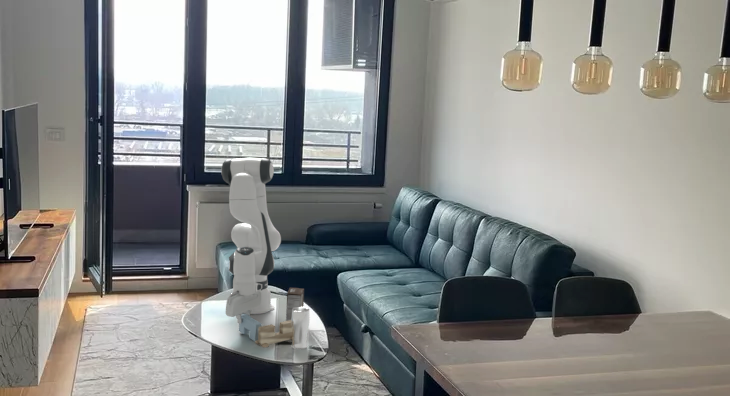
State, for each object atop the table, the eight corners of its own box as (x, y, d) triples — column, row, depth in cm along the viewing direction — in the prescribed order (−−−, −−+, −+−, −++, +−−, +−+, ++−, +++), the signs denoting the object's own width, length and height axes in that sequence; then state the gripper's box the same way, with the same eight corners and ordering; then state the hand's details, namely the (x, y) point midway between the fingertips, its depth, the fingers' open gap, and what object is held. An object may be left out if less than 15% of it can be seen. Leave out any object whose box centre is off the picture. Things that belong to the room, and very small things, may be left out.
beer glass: (305, 351, 263) (307, 312, 262) (287, 348, 265) (289, 310, 263) (310, 345, 270) (312, 307, 268) (293, 343, 272) (294, 306, 270)
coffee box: (288, 324, 295) (289, 287, 292) (303, 325, 294) (304, 288, 292) (285, 330, 286) (286, 292, 283) (300, 331, 285) (302, 293, 283)
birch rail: (255, 343, 269) (255, 325, 268) (288, 335, 280) (289, 318, 279) (264, 347, 265) (264, 330, 264) (297, 339, 276) (298, 322, 275)
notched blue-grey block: (238, 330, 280) (239, 314, 278) (243, 329, 281) (245, 313, 280) (254, 341, 271) (256, 324, 270) (260, 340, 273) (261, 323, 271)
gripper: (235, 295, 266) (234, 330, 268) (264, 283, 284) (263, 316, 286) (221, 293, 269) (221, 327, 271) (251, 281, 287) (251, 313, 289)
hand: (243, 321), depth 279 cm, fingers closed on notched blue-grey block, 3 cm apart
